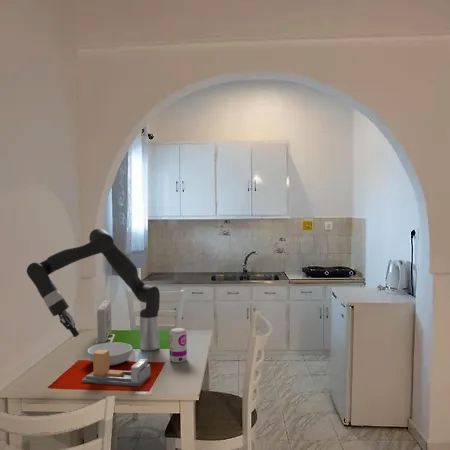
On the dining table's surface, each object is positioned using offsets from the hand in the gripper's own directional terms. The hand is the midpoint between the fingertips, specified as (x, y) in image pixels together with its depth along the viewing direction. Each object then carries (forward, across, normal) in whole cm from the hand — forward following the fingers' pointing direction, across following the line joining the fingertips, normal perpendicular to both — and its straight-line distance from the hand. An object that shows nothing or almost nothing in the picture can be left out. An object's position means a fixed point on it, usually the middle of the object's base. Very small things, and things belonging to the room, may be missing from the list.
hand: (77, 335), depth 197 cm
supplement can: (+37, -18, +29) cm, 50 cm away
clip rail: (+25, +3, +5) cm, 26 cm away
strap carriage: (+22, +2, +3) cm, 22 cm away
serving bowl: (+19, -19, +2) cm, 27 cm away
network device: (+9, -58, -2) cm, 59 cm away
